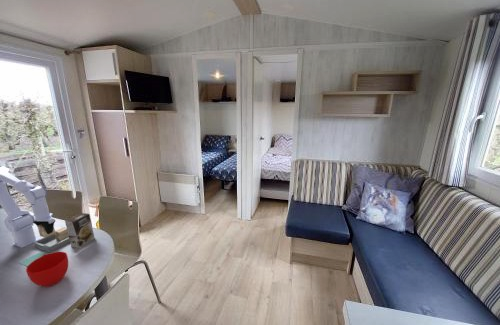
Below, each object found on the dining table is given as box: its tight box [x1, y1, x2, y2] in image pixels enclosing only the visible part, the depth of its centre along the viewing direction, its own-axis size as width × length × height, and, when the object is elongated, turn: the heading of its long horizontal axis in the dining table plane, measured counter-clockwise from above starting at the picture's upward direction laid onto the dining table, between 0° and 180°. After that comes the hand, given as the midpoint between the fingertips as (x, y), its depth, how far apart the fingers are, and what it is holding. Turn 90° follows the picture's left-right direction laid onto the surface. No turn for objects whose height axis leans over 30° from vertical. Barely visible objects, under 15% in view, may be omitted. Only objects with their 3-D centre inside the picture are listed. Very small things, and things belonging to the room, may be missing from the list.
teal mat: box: [18, 250, 49, 268], centre depth 106 cm, size 9×9×1 cm
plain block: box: [55, 226, 69, 242], centre depth 121 cm, size 5×5×6 cm
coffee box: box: [64, 212, 96, 248], centre depth 117 cm, size 9×6×16 cm
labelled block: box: [36, 225, 56, 238], centre depth 114 cm, size 5×5×6 cm
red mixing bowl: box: [25, 251, 69, 288], centre depth 93 cm, size 13×17×10 cm
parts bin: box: [32, 234, 70, 253], centre depth 119 cm, size 14×14×3 cm
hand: (47, 232), depth 115 cm, fingers closed on labelled block, 5 cm apart
